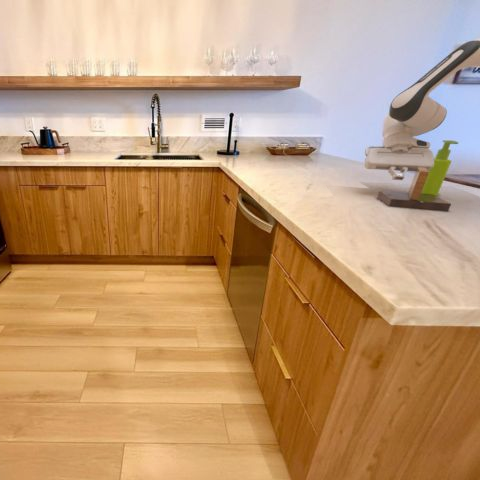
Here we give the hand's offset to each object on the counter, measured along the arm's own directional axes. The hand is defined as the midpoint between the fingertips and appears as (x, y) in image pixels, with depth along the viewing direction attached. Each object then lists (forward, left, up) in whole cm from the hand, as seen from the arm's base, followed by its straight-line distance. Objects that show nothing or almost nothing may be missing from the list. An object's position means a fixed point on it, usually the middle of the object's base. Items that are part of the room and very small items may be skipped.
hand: (398, 179), depth 103 cm
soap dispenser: (-15, -12, -8) cm, 21 cm away
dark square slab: (-3, +6, -7) cm, 10 cm away
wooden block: (-3, +6, -4) cm, 8 cm away
